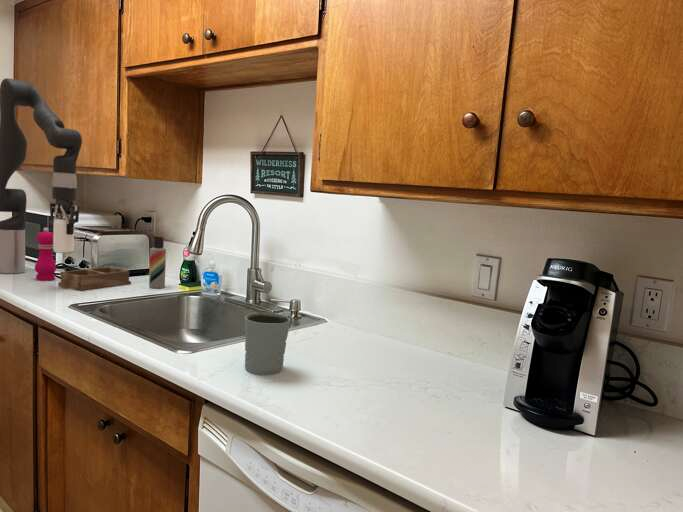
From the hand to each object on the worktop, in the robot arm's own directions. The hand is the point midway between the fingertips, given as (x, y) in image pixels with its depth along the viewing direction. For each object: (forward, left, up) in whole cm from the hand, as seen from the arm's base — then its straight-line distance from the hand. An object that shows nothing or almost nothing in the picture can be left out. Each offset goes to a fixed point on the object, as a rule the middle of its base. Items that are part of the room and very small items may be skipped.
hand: (64, 233), depth 182 cm
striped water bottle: (+19, +25, -20) cm, 38 cm away
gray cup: (+105, -20, -20) cm, 109 cm away
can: (0, 0, -7) cm, 7 cm away
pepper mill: (-18, +4, -20) cm, 27 cm away
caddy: (+2, +11, -20) cm, 23 cm away
